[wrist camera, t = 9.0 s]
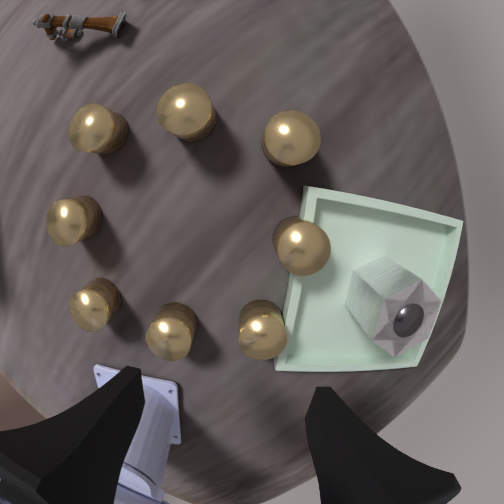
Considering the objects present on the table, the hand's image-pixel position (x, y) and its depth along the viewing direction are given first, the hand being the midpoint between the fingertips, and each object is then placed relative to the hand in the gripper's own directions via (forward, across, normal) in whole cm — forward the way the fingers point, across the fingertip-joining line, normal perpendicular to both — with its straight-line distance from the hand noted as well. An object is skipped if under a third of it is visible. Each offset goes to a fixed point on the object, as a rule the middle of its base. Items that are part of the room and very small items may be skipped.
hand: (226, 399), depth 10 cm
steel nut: (+9, -10, -2) cm, 14 cm away
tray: (+9, -10, -2) cm, 14 cm away
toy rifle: (+10, +14, -20) cm, 27 cm away
